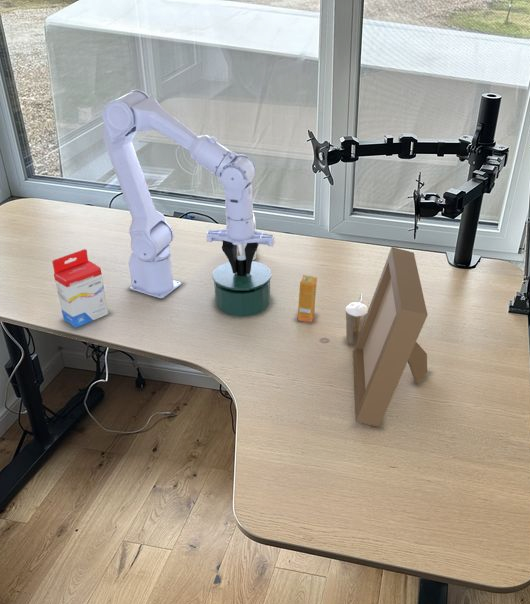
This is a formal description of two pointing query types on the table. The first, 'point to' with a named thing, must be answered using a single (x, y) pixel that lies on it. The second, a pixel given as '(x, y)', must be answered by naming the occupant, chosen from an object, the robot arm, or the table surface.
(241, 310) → the tin
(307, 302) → the supplement box
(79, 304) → the ink box
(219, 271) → the lid
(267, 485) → the table surface
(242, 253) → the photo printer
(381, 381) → the photo frame
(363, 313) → the milkshake
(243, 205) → the robot arm
